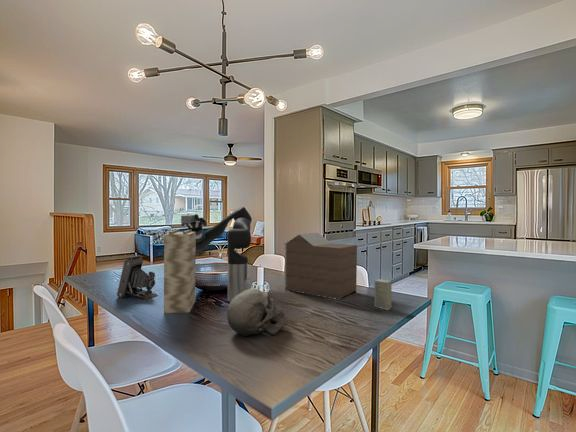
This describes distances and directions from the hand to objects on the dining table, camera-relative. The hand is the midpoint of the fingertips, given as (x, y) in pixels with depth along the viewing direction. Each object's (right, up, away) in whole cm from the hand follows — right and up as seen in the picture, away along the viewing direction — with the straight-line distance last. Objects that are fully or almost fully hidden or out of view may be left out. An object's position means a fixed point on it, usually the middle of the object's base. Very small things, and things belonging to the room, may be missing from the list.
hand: (191, 215), depth 166 cm
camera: (-21, -39, -13) cm, 46 cm away
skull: (+40, -41, -56) cm, 80 cm away
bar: (+1, -3, -6) cm, 7 cm away
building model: (+67, -40, +3) cm, 78 cm away
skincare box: (+92, -41, -27) cm, 104 cm away
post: (+4, -39, -29) cm, 49 cm away
